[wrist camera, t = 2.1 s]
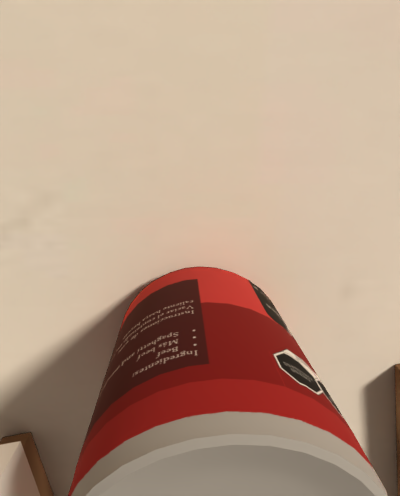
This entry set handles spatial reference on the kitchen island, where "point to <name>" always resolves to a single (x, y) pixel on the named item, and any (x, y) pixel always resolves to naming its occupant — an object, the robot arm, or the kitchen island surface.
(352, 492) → the canned food
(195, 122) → the kitchen island surface
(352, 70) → the kitchen island surface
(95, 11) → the kitchen island surface
